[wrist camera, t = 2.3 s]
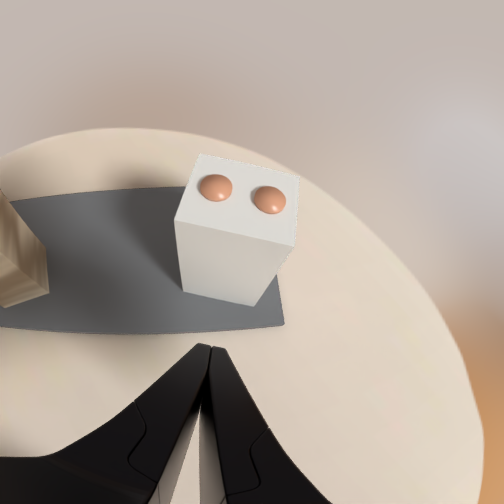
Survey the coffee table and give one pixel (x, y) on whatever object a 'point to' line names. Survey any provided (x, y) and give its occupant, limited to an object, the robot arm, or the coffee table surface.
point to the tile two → (234, 228)
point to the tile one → (20, 259)
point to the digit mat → (122, 270)
